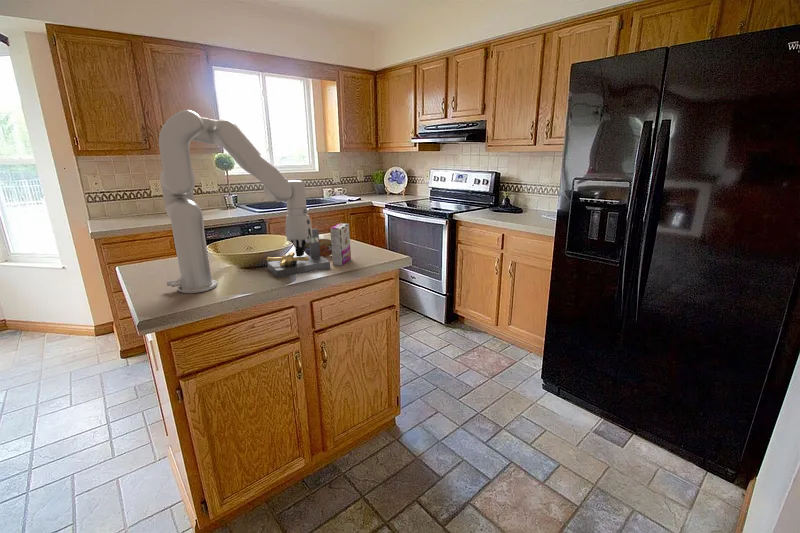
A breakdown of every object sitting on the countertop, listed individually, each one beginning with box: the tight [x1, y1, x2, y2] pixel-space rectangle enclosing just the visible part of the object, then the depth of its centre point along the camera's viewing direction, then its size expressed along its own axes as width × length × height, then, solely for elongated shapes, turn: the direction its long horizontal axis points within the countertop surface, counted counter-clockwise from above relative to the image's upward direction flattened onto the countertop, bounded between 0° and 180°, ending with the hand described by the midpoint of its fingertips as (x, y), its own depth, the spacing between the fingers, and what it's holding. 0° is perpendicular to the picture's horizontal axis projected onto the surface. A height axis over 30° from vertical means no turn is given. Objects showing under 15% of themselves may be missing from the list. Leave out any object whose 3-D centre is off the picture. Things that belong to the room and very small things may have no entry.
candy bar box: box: [329, 223, 352, 267], centre depth 164 cm, size 11×5×16 cm, turn 168°
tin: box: [304, 238, 332, 258], centre depth 176 cm, size 15×3×8 cm, turn 77°
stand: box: [266, 228, 331, 279], centre depth 155 cm, size 22×14×15 cm, turn 123°
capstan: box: [266, 251, 309, 267], centre depth 151 cm, size 17×17×4 cm
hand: (300, 255), depth 157 cm, fingers closed
